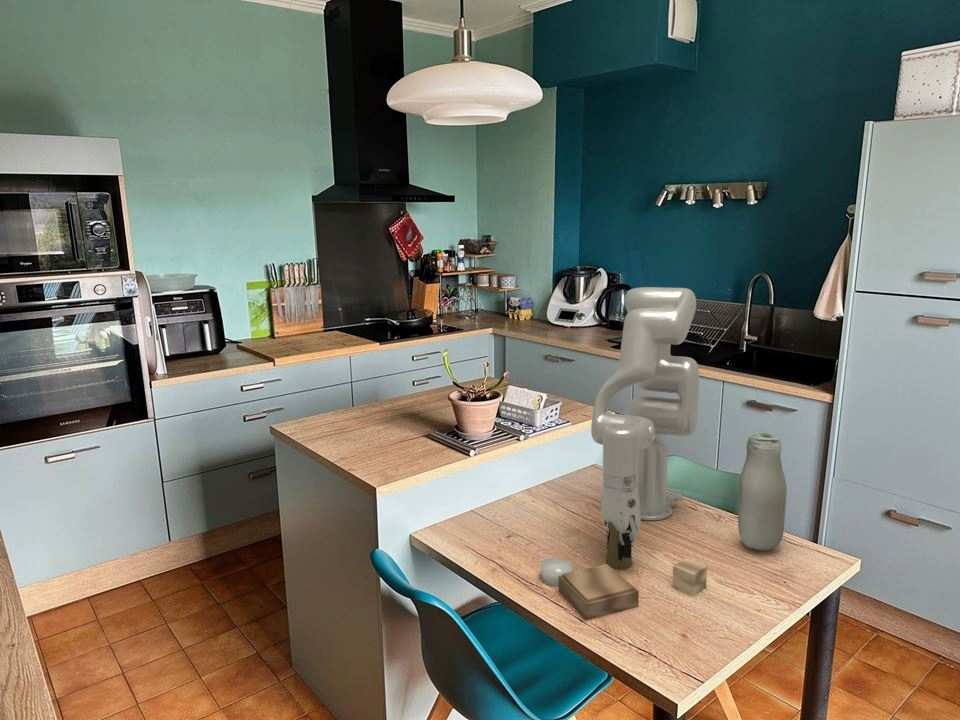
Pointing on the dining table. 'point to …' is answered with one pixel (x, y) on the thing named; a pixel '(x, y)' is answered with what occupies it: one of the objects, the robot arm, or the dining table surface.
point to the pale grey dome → (554, 570)
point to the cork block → (689, 576)
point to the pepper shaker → (616, 550)
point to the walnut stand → (598, 591)
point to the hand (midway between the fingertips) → (619, 553)
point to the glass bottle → (762, 494)
